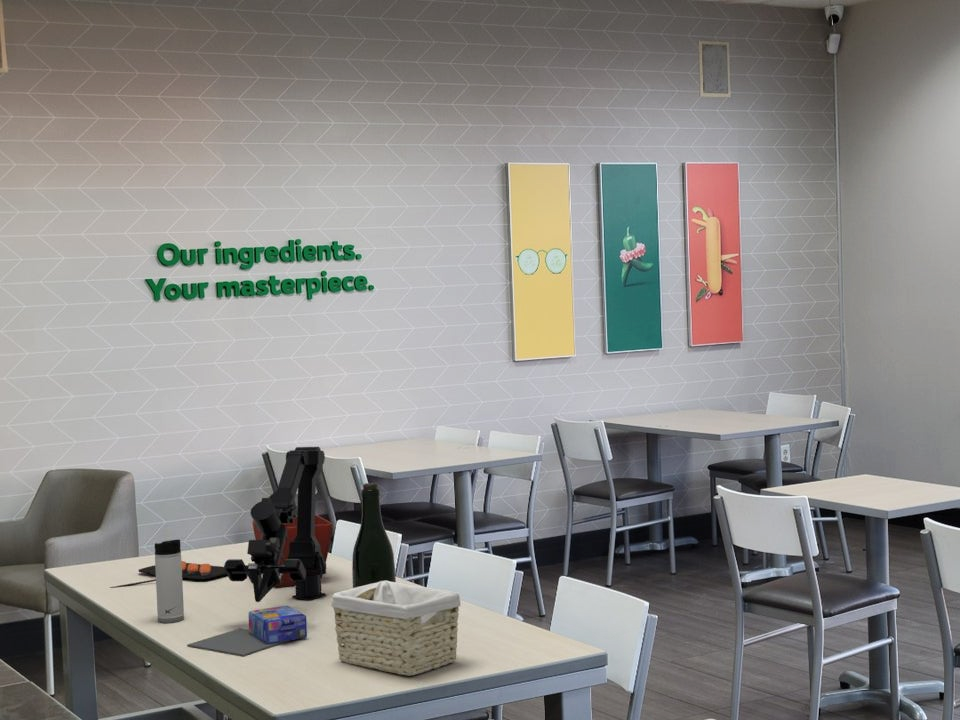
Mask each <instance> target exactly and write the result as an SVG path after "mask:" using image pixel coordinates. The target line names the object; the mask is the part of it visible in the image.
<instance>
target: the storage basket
mask: <svg viewBox="0 0 960 720" xmlns="http://www.w3.org/2000/svg"><path fill="white" fill-rule="evenodd" d="M368 599H372V600H368ZM330 607H332V609H333V612H334V621H335V632H336V642H337V644H338V646H337V650H338V655H339V656H338V657H339V660H340V661H341V662H343V663H346V664H348V665H349V664H350V665H355V666H360V667H364V668H370V669H376V670H378V671H381V672H388V673H393V674H398V675H402V676H409V677H410V676H415V675H420V674H422V673H425V672H430V671H431V670H432V669H433V670H436V669H438V668H440V667H442V666H443V667H444V666H447V665H448V664H451V663H454V662H455V661H456V660H457V647H458V645H457V644H458V626H459V625H458V624H459V623H458V619H459V617H460V616H459V612H460V608H459V607H461V597H460V594H459V593H458V592H457V591H450V590H446V589H445V590H444V589H441V588H440V589H439V588H433V587H431V588H430V587H425V586H418V585H413V584H406V583H400V582H397V581H396V582H390V581H386V580H385V581H380V582H377V583H373V584H368V585H364V586H360V587H356V588H353V587H352V588H350V589H346V590H342V591H339V592H335V593H333V595H332V600H331V605H330Z"/></svg>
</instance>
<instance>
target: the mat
mask: <svg viewBox="0 0 960 720" xmlns="http://www.w3.org/2000/svg"><path fill="white" fill-rule="evenodd" d="M291 641H292V640H287V641H282V642H276V643H271V644H266V643H265V642H263V641H261V640H260V639H258V638H256V637H255V636H253V635H251V634H250V633H249V628H248V629H247V628H240V627H239V628H236V629H233V630H229V631H226V632H223V633H221V634H217V635H214V636H211V637H207V638H204V639H201V640H197V641H194V642H192V643H188V644H186V647H189V648H195V649H200V650H206V651H210V652H211V651H212V652H217V653H221V654H227V655H233V656H238V657H242V658H243V657H246V656H250V655H252V654H255V653H258V652H261V651H264V650H267V649H270V648H272V647H276V646H279V645H282V644H285V643H288V642H291Z"/></svg>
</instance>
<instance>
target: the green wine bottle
mask: <svg viewBox="0 0 960 720" xmlns="http://www.w3.org/2000/svg"><path fill="white" fill-rule="evenodd" d="M362 487H363V488H362V489H361V493H360V496H361V520H360V521H361V522H360V528H359V531H358V534H357V536H356V540H355V543H354V546H353V551H352V565H351V567H352V570H351V571H352V573H351V574H352V589H353V588H356V587H360V586H364V585H368V584H373V583H377V582H380V581H385V580H386V581H390V582H396V583H397V580H396V579H397V578H396V565H395V564H396V563H395V556H394V555H395V554H394V550H393V545H392V543H391V540H390V538H389V536H388V534H387V531H386V529H385V525H384V523H383V518H382V514H381V513H382V512H381V502H380V501H381V500H380V499H381V498H380V496H381V492H380V488H378V483H376V482H368V483H363V485H362ZM368 600H372V599H368Z"/></svg>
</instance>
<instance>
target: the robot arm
mask: <svg viewBox="0 0 960 720" xmlns="http://www.w3.org/2000/svg"><path fill="white" fill-rule="evenodd" d="M325 457H326V455H325V452H324V450H321V447H320V446H298V447H297V446H296V447H295V448H294V449H293V450H292V449H291V450H289V451H286V454H285V463H284V467H283V470H282V473H281V476H280V479H279V481H278V485H277V488H276V491H274V492H273V493H272V494H270V495H269V496H268V497H262V498H261V501H259V502H257V503H255V504H254V505H253V507H252V508H251V509H250V516H251V518H252V521H254V522H255V524H256V526H257V528H258V530H259V531H260V532H261V533H262V536H261V540H256V539H250V540H248V544H247V553H246V554H247V555H250V556H251V557H250V560H251V563H250V562H249V563H248V564H247V565H246V564H245V562H244V560H243V559H241V558H238V559H236V558H235V559H234V558H233V559H229V558H228V559H227V560H225V562H224V565H223V567H224V570H225V572H226V574H225V575H227V578H228V580H229V581H231V582H244V581H245V580H247V579H249V581H250V583H251V584H252V585H253V594H254V600H255V603H260V602H262V600H263V599H264V598H265V597H266V595H267V594H268V593H270V592H271V590H273V589H274V587H275V586H276V585H277V584H280V583H281V580H280V579H281V576H282V574H286V573H290V579H291V580H292V581H295V585H294V586H295V587H294V590H295V594H294V595H291V597H292V599H298V600H306V601H312V600H315V599H319V598H321V597H322V598H323V597H325V596H327V593H325V592H322V578H321V575H322V574H323V575H326V574H327V561H326V562H325V560H324V557H323V555H322V553H321V547H320V544H319V543H318V541H317V539H316V537H315V515H316V494H317V493H316V490H317V481H318V480H317V479H318V478H319V477H320V476H321V474H322V472H323V467H324V464H325V462H326V461H325V459H326V458H325ZM296 495H297V504H296V501H295V498H296ZM296 517H297V535H296V537H295V539H294V540H293V541H291V542H290V545H289V554H288V559H285V560H284V563H283V564H284V565H279V563H280V559H283V553H282V551H283V547H284V543H285V539H288V535H287V528H286V527H285V525H283V524H290V523H293V522H294V519H296ZM317 568H318V569H317ZM323 575H322V576H323ZM275 588H276V587H275Z"/></svg>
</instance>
